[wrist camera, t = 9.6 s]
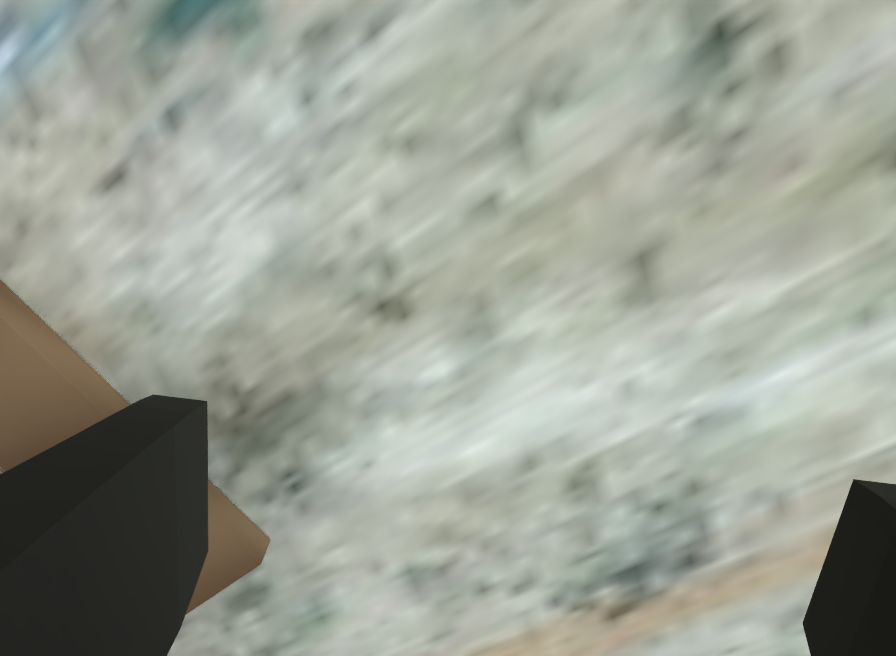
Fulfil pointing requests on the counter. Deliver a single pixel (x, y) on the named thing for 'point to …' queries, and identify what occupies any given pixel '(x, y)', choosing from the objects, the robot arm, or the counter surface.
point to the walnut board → (82, 405)
